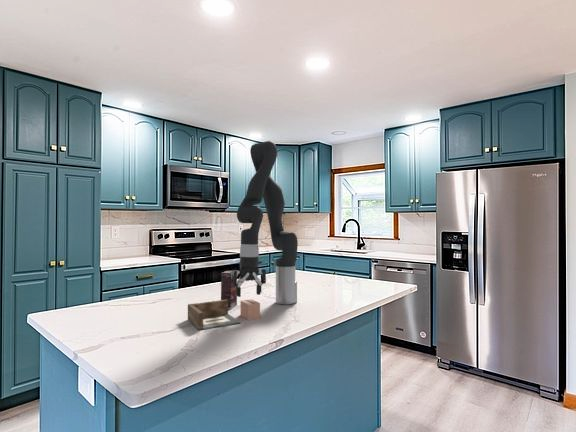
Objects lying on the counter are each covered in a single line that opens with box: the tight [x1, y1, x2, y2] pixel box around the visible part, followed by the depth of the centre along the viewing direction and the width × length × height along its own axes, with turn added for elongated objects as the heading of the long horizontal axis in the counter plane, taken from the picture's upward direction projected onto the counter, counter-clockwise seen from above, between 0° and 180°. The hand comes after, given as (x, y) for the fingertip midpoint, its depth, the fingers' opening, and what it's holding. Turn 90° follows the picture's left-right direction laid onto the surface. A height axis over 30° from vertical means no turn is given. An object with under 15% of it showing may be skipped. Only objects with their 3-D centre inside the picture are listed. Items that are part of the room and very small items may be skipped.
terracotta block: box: [240, 298, 261, 321], centre depth 144 cm, size 5×8×6 cm, turn 30°
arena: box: [187, 299, 242, 331], centre depth 137 cm, size 16×15×6 cm
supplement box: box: [220, 269, 238, 311], centre depth 159 cm, size 9×5×16 cm, turn 168°
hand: (248, 295), depth 144 cm, fingers open, 8 cm apart
